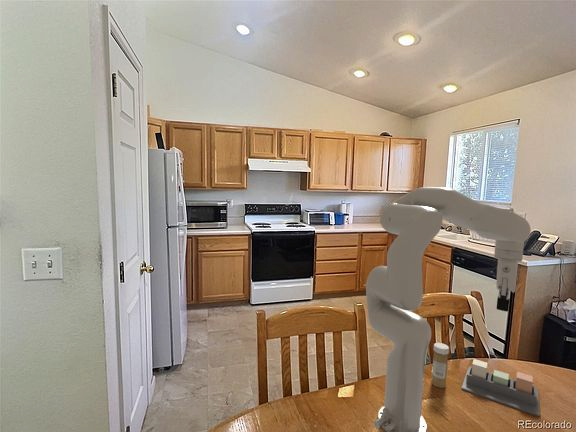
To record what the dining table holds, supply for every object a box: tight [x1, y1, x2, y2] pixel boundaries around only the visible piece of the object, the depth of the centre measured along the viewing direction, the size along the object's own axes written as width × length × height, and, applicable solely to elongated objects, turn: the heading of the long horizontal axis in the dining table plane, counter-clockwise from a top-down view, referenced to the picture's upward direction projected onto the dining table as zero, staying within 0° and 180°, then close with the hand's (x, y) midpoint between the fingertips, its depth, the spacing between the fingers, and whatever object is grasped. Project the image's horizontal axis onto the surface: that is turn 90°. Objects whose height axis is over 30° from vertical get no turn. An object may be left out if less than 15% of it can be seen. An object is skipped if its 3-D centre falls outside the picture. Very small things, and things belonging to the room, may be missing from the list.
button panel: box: [461, 365, 541, 418], centre depth 103 cm, size 14×20×4 cm
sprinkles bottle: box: [431, 342, 450, 389], centre depth 106 cm, size 5×5×14 cm
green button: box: [493, 369, 510, 387], centre depth 103 cm, size 4×4×4 cm
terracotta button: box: [515, 371, 534, 394], centre depth 100 cm, size 4×4×4 cm
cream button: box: [471, 358, 488, 380], centre depth 107 cm, size 4×4×4 cm
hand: (502, 309), depth 105 cm, fingers closed
